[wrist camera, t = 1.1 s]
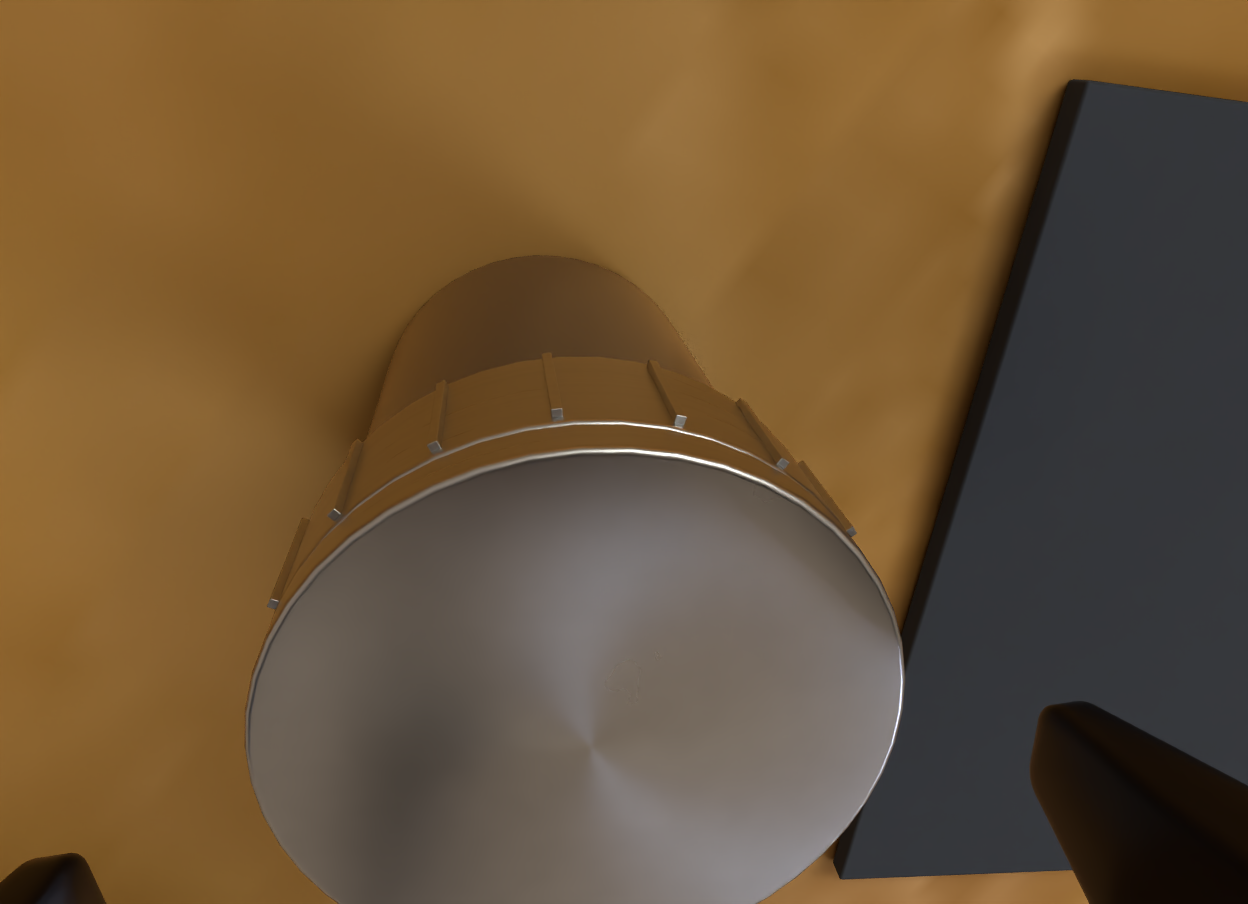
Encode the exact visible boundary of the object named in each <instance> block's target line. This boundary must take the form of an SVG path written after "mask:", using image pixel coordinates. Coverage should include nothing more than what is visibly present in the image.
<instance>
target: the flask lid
mask: <svg viewBox="0 0 1248 904" xmlns="http://www.w3.org/2000/svg"><path fill="white" fill-rule="evenodd" d="M855 534H857V532H856V531H855V529H854V528H853V526H852V525H851V524H850V522H849V521H848V520H847V518H846V517H845V516H844V514H843V513H842V512H841V510H840V509H839V508H838V506H837V505H836V504H835V502H834V501H833V500H832V498H831V497H830V496H829V494H828V493H827V492H826V490H825V489H824V488H823V486H822V485H821V484H820V482H819V481H818V480H817V478H816V477H815V476H814V474H813V473H812V472H811V470H810V469H809V468H808V466H807V465H806V464H805V462H804V461H801V462H799V463H798V464H797V463H796V461H795V460H794V459H793V457H792V456H791V455H790V453H789V452H788V450H787V449H786V448H785V447H784V446H783V444H782V443H781V442H780V441H779V440H778V439H777V438H776V437H775V436H774V435H773V434H772V433H771V431H770V430H769V429H768V428H767V427H766V426H765V425H764V424H763V423H762V422H760V421H759V419H758V418H757V416H756V415H755V414H754V412H753V411H752V409H751V408H750V407H749V405H748V404H747V402H745V401H744V400H742V399H741V398H739V400H738V401H737V402H735V401H733V400H731V399H730V398H728V397H726V396H725V395H723V394H721V393H719V392H718V391H716V390H714V389H713V388H711V387H709V386H708V385H705V384H703V383H700V382H698V381H696V380H693V379H691V378H688V377H686V376H683V375H681V374H679V373H676V372H674V371H670V370H666V369H662V368H661V367H660V365H659V363H658V362H657V361H654V360H648V364H644V363H640V362H635V361H627V360H619V359H612V358H604V357H553V358H552V354H551V353H543V354H542V359H537V360H528V361H520V362H516V363H512V364H508V365H504V366H500V367H496V368H492V369H488V370H484V371H481V372H478V373H475V374H473V375H470V376H468V377H465V378H462V379H460V380H457V381H455V382H452V383H450V384H447V382H446V381H445V380H443V381H441V382H439V383H437V384H436V390H435V391H433V392H431V393H430V394H428V395H426V396H424V397H422V398H420V399H419V400H417V401H415V402H413V403H411V404H410V405H408V406H407V407H405V408H404V409H403V410H401V411H400V412H399V413H397V414H396V415H394V416H393V417H392V418H390V419H389V420H388V421H386V422H385V423H383V424H382V425H381V426H379V427H378V428H377V429H376V430H375V431H374V432H373V433H372V434H371V435H370V436H369V437H368V438H367V439H366V440H365V441H364V442H363V443H362V442H361V441H360V440H358V439H356V440H355V441H354V442H353V443H352V444H351V447H350V450H349V453H348V456H347V459H346V461H345V462H344V464H343V465H342V466H341V467H340V469H339V470H338V471H337V473H336V474H335V475H334V476H333V478H332V479H331V480H330V482H329V484H328V486H327V487H326V489H325V491H324V493H323V494H322V496H321V498H320V500H319V501H318V503H317V505H316V507H315V509H314V510H313V513H312V516H311V518H310V520H308V519H305V518H302V520H301V522H300V525H299V527H298V530H297V532H296V535H295V537H294V540H293V542H292V545H291V547H290V550H289V552H288V555H287V557H286V560H285V562H284V565H283V567H282V570H281V573H280V575H279V578H278V580H277V583H276V585H275V588H274V590H273V593H272V595H271V598H270V600H269V603H268V605H267V607H269V608H272V609H276V610H275V613H274V616H273V618H272V621H271V624H270V626H269V629H268V631H267V634H266V637H265V639H264V642H263V645H262V647H261V650H260V653H259V655H258V658H257V661H256V663H255V666H254V669H253V671H252V675H251V680H250V686H249V691H248V696H247V701H246V707H245V751H246V756H247V762H248V768H249V774H250V780H251V784H252V786H253V789H254V792H255V795H256V797H257V800H258V803H259V806H260V808H261V811H262V814H263V816H264V818H265V820H266V822H267V823H268V825H269V827H270V829H271V830H272V832H273V834H274V836H275V837H276V839H277V841H278V843H279V844H280V846H281V847H282V848H283V850H284V851H285V852H286V853H287V855H288V856H289V857H290V858H291V860H292V861H293V862H294V863H295V865H296V866H297V867H298V868H299V870H300V871H301V872H302V873H303V874H304V875H305V876H306V877H308V878H309V879H310V880H311V881H312V882H313V883H314V884H315V885H316V886H317V887H318V888H319V889H320V890H322V891H323V892H324V893H325V894H326V895H327V896H329V897H330V898H331V899H333V900H334V901H336V902H337V903H339V904H757V903H759V902H761V901H763V900H764V899H766V898H768V897H769V896H771V895H772V894H774V893H775V892H776V891H778V890H779V889H781V888H782V887H783V886H785V885H786V884H788V883H789V882H790V881H792V880H793V879H794V878H796V877H797V876H799V875H800V874H801V873H802V872H803V871H804V870H805V869H807V868H808V867H809V866H810V865H811V864H812V863H813V862H814V861H816V860H817V859H818V858H819V857H820V856H821V855H822V854H824V853H825V852H826V850H827V849H828V848H829V847H830V846H831V845H832V844H833V843H834V842H835V841H836V840H837V839H838V837H839V836H840V835H841V834H842V833H843V832H844V831H845V830H846V829H847V828H848V826H849V825H850V823H851V822H852V821H853V819H854V818H855V817H856V815H857V814H858V813H859V811H860V810H861V808H862V807H863V806H864V804H865V803H866V802H867V800H868V798H869V796H870V795H871V793H872V791H873V789H874V787H875V786H876V784H877V782H878V780H879V779H880V777H881V775H882V773H883V771H884V769H885V766H886V763H887V761H888V758H889V756H890V753H891V751H892V748H893V746H894V743H895V740H896V736H897V732H898V727H899V723H900V719H901V715H902V710H903V698H904V686H905V670H904V658H903V646H902V640H901V636H900V632H899V628H898V624H897V620H896V616H895V612H894V609H893V607H892V605H891V602H890V600H889V598H888V596H887V594H886V591H885V589H884V587H883V585H882V582H881V580H880V578H879V577H878V575H877V574H876V572H875V571H874V569H873V568H872V566H871V565H870V563H869V562H868V560H867V559H866V557H865V556H864V554H863V553H862V552H861V550H860V549H859V547H858V546H857V545H856V543H855V542H854V540H853V539H852V538H851V537H852V536H854V535H855Z"/></svg>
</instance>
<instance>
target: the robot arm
mask: <svg viewBox="0 0 1248 904" xmlns="http://www.w3.org/2000/svg"><path fill="white" fill-rule="evenodd" d="M1029 770H1030V779H1031V784H1032V787H1033V790H1034V792H1035V795H1036V797H1037V799H1038V801H1039V803H1040V805H1041V807H1042V809H1043V811H1044V813H1045V815H1046V817H1047V819H1048V821H1049V823H1050V825H1051V827H1052V829H1053V831H1054V833H1055V835H1056V837H1057V839H1058V841H1059V843H1060V845H1061V847H1062V849H1063V851H1064V853H1065V855H1066V857H1067V859H1068V861H1069V863H1070V865H1071V867H1072V869H1073V871H1074V873H1075V875H1076V878H1077V880H1078V882H1079V884H1080V886H1081V888H1082V890H1083V892H1084V894H1085V896H1086V898H1087V900H1088V902H1089V904H1248V785H1246V784H1244V783H1242V782H1240V781H1238V780H1237V779H1235V778H1233V777H1231V776H1229V775H1227V774H1225V773H1223V772H1221V771H1219V770H1218V769H1216V768H1214V767H1212V766H1210V765H1208V764H1206V763H1204V762H1202V761H1200V760H1198V759H1197V758H1195V757H1193V756H1191V755H1189V754H1187V753H1185V752H1183V751H1181V750H1179V749H1178V748H1176V747H1174V746H1172V745H1170V744H1168V743H1166V742H1164V741H1162V740H1160V739H1159V738H1157V737H1155V736H1153V735H1151V734H1149V733H1147V732H1145V731H1143V730H1141V729H1140V728H1138V727H1136V726H1134V725H1132V724H1130V723H1128V722H1126V721H1124V720H1122V719H1121V718H1119V717H1117V716H1115V715H1113V714H1111V713H1109V712H1107V711H1105V710H1103V709H1102V708H1100V707H1098V706H1096V705H1094V704H1091V703H1089V702H1086V701H1074V702H1067V703H1061V704H1054V705H1049V706H1047V707H1045V708H1044V709H1043V710H1042V711H1041V713H1040V715H1039V718H1038V724H1037V729H1036V734H1035V739H1034V745H1033V750H1032V755H1031V760H1030V768H1029ZM0 904H106V902H105V900H104V898H103V896H102V893H101V891H100V889H99V887H98V885H97V883H96V880H95V878H94V876H93V874H92V872H91V870H90V867H89V865H88V863H87V862H86V860H85V858H83V857H82V856H80V855H79V854H75V853H68V854H61V855H54V856H48V857H41V858H35V859H32V860H29V861H27V862H25V863H23V864H22V865H21V866H19V867H18V868H17V869H15V870H14V871H13V872H12V873H11V874H10V875H9V876H7V877H6V878H5V879H4V880H3V881H2V882H1V883H0Z"/></svg>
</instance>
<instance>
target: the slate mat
mask: <svg viewBox="0 0 1248 904" xmlns="http://www.w3.org/2000/svg"><path fill="white" fill-rule="evenodd" d="M901 640H902V646H903V658H904V670H905V686H904V698H903V710H902V715H901V719H900V723H899V727H898V732H897V736H896V740H895V743H894V746H893V748H892V751H891V753H890V756H889V758H888V761H887V763H886V766H885V769H884V771H883V773H882V775H881V777H880V779H879V780H878V782H877V784H876V786H875V787H874V789H873V791H872V793H871V795H870V796H869V798H868V800H867V802H866V803H865V804H864V806H863V807H862V808H861V810H860V811H859V813H858V814H857V815H856V817H855V818H854V819H853V821H852V822H851V823H850V825H849V826H848V828H847V829H846V830H845V831H844V832H843V833H842V834H841V837H840V841H839V844H838V847H837V850H836V854H835V857H834V860H833V863H834V866H835V868H836V871H837V873H838V875H839V878H840V879H866V878H891V877H915V876H940V875H964V874H988V873H1013V872H1037V871H1062V870H1073V869H1072V867H1071V865H1070V863H1069V861H1068V859H1067V857H1066V855H1065V853H1064V851H1063V849H1062V847H1061V845H1060V843H1059V841H1058V839H1057V837H1056V835H1055V833H1054V831H1053V829H1052V827H1051V825H1050V823H1049V821H1048V819H1047V817H1046V815H1045V813H1044V811H1043V809H1042V807H1041V805H1040V803H1039V801H1038V799H1037V797H1036V795H1035V792H1034V790H1033V787H1032V784H1031V779H1030V770H1029V768H1030V760H1031V755H1032V750H1033V745H1034V739H1035V734H1036V729H1037V724H1038V718H1039V715H1040V713H1041V711H1042V710H1043V709H1044V708H1045V707H1047V706H1049V705H1054V704H1061V703H1067V702H1074V701H1086V702H1089V703H1091V704H1094V705H1096V706H1098V707H1100V708H1102V709H1103V710H1105V711H1107V712H1109V713H1111V714H1113V715H1115V716H1117V717H1119V718H1121V719H1122V720H1124V721H1126V722H1128V723H1130V724H1132V725H1134V726H1136V727H1138V728H1140V729H1141V730H1143V731H1145V732H1147V733H1149V734H1151V735H1153V736H1155V737H1157V738H1159V739H1160V740H1162V741H1164V742H1166V743H1168V744H1170V745H1172V746H1174V747H1176V748H1178V749H1179V750H1181V751H1183V752H1185V753H1187V754H1189V755H1191V756H1193V757H1195V758H1197V759H1198V760H1200V761H1202V762H1204V763H1206V764H1208V765H1210V766H1212V767H1214V768H1216V769H1218V770H1219V771H1221V772H1223V773H1225V774H1227V775H1229V776H1231V777H1233V778H1235V779H1237V780H1238V781H1240V782H1242V783H1244V784H1246V785H1248V102H1242V101H1235V100H1228V99H1221V98H1213V97H1206V96H1199V95H1192V94H1184V93H1177V92H1170V91H1163V90H1155V89H1148V88H1141V87H1134V86H1126V85H1119V84H1112V83H1105V82H1098V81H1090V80H1075V79H1074V80H1070V81H1069V83H1068V85H1067V88H1066V92H1065V95H1064V98H1063V102H1062V105H1061V108H1060V112H1059V115H1058V118H1057V122H1056V125H1055V128H1054V132H1053V135H1052V138H1051V141H1050V145H1049V148H1048V151H1047V155H1046V158H1045V161H1044V165H1043V168H1042V171H1041V175H1040V178H1039V181H1038V185H1037V188H1036V191H1035V194H1034V198H1033V201H1032V204H1031V208H1030V211H1029V214H1028V218H1027V221H1026V224H1025V228H1024V231H1023V234H1022V238H1021V241H1020V244H1019V247H1018V251H1017V254H1016V257H1015V261H1014V264H1013V267H1012V271H1011V274H1010V277H1009V281H1008V284H1007V287H1006V291H1005V294H1004V297H1003V300H1002V304H1001V307H1000V310H999V314H998V317H997V320H996V324H995V327H994V330H993V334H992V337H991V340H990V344H989V347H988V350H987V353H986V357H985V360H984V363H983V367H982V370H981V373H980V377H979V380H978V383H977V387H976V390H975V393H974V397H973V400H972V403H971V407H970V410H969V413H968V416H967V420H966V423H965V426H964V430H963V433H962V436H961V440H960V443H959V446H958V450H957V453H956V456H955V460H954V463H953V466H952V469H951V473H950V476H949V479H948V483H947V486H946V489H945V493H944V496H943V499H942V503H941V506H940V509H939V513H938V516H937V519H936V522H935V526H934V529H933V532H932V536H931V539H930V542H929V546H928V549H927V552H926V556H925V559H924V562H923V566H922V569H921V572H920V575H919V579H918V582H917V585H916V589H915V592H914V595H913V599H912V602H911V605H910V609H909V612H908V615H907V619H906V622H905V625H904V628H903V632H902V635H901Z"/></svg>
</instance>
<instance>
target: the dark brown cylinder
mask: <svg viewBox="0 0 1248 904" xmlns="http://www.w3.org/2000/svg"><path fill="white" fill-rule="evenodd" d="M543 353H551V354H552V358H553V357H604V358H612V359H619V360H627V361H635V362H640V363H644V364H648V360H654V361H657V362H658V363H659V365H660V367H661V368H662V369H666V370H670V371H674V372H676V373H679V374H681V375H683V376H686V377H688V378H691V379H693V380H696V381H698V382H700V383H703V384H705V385H708V386H709V387H711V388H713V387H712V385H711V384H710V382H709V380H708V379H707V377H706V376H705V374H704V373H703V371H702V370H701V368H700V367H699V365H698V364H697V362H696V360H695V359H694V357H693V356H692V354H691V353H690V351H689V350H688V348H687V347H686V345H685V344H684V342H683V340H682V339H681V337H680V336H679V334H678V333H677V331H676V330H675V328H674V327H673V325H672V324H671V322H670V321H669V320H668V318H667V317H666V315H665V314H664V312H663V311H662V310H661V309H660V308H659V307H658V306H657V305H656V304H655V302H654V301H653V300H652V299H651V298H650V297H649V296H648V295H646V294H645V293H644V292H643V291H641V290H640V289H639V288H638V287H637V286H635V285H634V284H633V283H631V282H629V281H628V280H626V279H624V278H623V277H621V276H620V275H618V274H616V273H614V272H612V271H609V270H607V269H605V268H603V267H600V266H598V265H595V264H592V263H588V262H585V261H581V260H578V259H572V258H566V257H559V256H535V255H534V256H525V257H516V258H510V259H506V260H502V261H498V262H493V263H490V264H488V265H485V266H482V267H480V268H477V269H475V270H472V271H470V272H468V273H466V274H465V275H463V276H461V277H459V278H457V279H456V280H454V281H452V282H451V283H449V284H448V285H447V286H445V287H444V288H443V289H441V290H440V291H439V292H437V293H436V294H435V295H434V296H433V297H432V298H431V299H430V300H429V301H428V302H427V303H426V304H425V305H424V306H423V307H422V308H421V309H420V310H419V311H418V312H417V314H416V315H415V316H414V318H413V319H412V320H411V322H410V323H409V324H408V326H407V327H406V329H405V331H404V333H403V335H402V336H401V338H400V340H399V342H398V344H397V346H396V349H395V352H394V354H393V357H392V359H391V362H390V365H389V368H388V372H387V375H386V378H385V381H384V384H383V388H382V391H381V394H380V397H379V400H378V403H377V407H376V410H375V413H374V416H373V419H372V423H371V426H370V429H369V432H368V435H367V438H368V437H369V436H370V435H371V434H372V433H373V432H374V431H375V430H376V429H377V428H378V427H379V426H381V425H382V424H383V423H385V422H386V421H388V420H389V419H390V418H392V417H393V416H394V415H396V414H397V413H399V412H400V411H401V410H403V409H404V408H405V407H407V406H408V405H410V404H411V403H413V402H415V401H417V400H419V399H420V398H422V397H424V396H426V395H428V394H430V393H431V392H433V391H435V390H436V384H437V383H439V382H441V381H443V380H445V381H446V382H447V384H450V383H452V382H455V381H457V380H460V379H462V378H465V377H468V376H470V375H473V374H475V373H478V372H481V371H484V370H488V369H492V368H496V367H500V366H504V365H508V364H512V363H516V362H520V361H528V360H537V359H542V354H543ZM713 389H714V388H713ZM367 438H366V439H367Z"/></svg>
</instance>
